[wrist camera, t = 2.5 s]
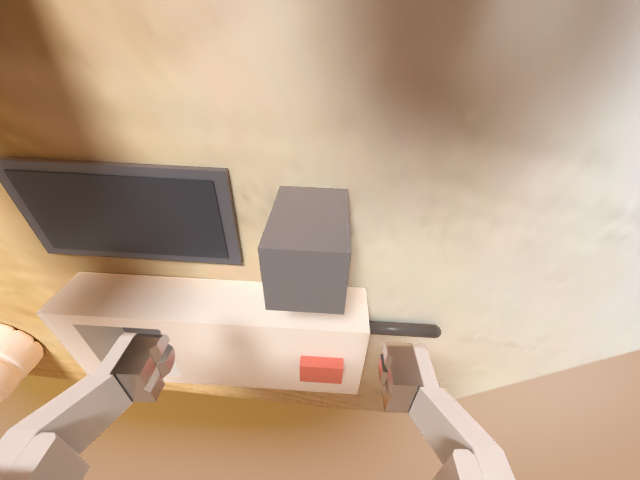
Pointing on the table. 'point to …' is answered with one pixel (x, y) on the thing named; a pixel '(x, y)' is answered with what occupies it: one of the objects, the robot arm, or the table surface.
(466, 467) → the robot arm
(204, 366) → the power strip
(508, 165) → the table surface
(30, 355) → the water bottle
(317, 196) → the block
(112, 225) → the phone
